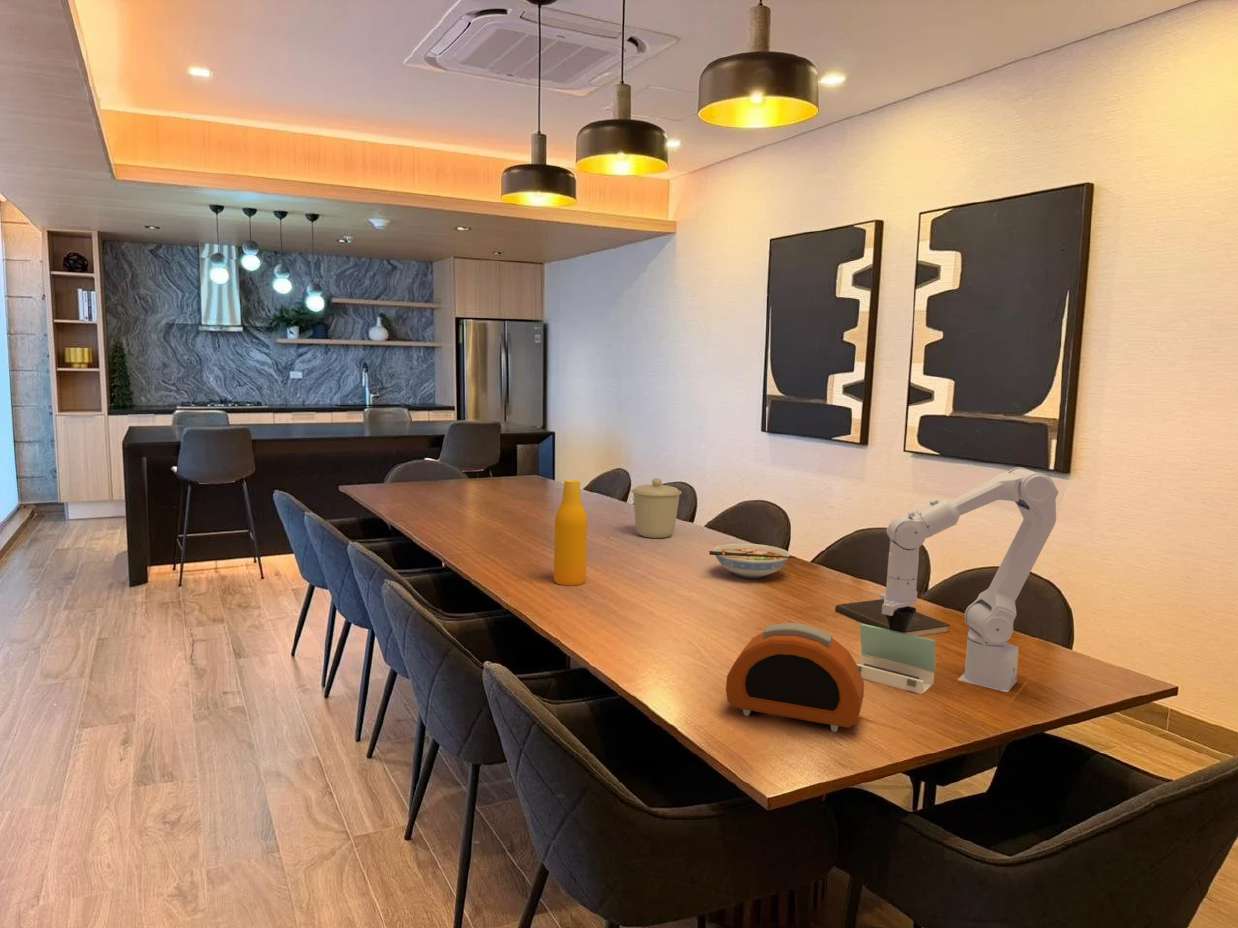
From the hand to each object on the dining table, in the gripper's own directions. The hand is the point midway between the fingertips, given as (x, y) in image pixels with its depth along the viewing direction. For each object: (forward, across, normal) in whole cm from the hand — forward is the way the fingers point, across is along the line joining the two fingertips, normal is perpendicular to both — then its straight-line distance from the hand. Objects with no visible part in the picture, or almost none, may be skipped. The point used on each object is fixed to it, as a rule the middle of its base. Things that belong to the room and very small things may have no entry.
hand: (896, 641), depth 168 cm
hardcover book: (+8, -37, -14) cm, 41 cm away
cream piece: (+8, +3, 0) cm, 8 cm away
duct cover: (+1, 0, 0) cm, 1 cm away
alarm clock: (+8, +31, -7) cm, 33 cm away
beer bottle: (+8, -9, -96) cm, 97 cm away
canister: (+9, -78, -116) cm, 140 cm away
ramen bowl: (+8, -52, -63) cm, 82 cm away
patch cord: (+7, +3, 0) cm, 8 cm away
